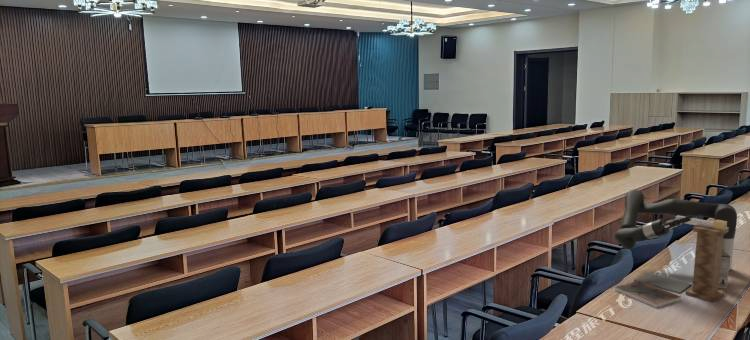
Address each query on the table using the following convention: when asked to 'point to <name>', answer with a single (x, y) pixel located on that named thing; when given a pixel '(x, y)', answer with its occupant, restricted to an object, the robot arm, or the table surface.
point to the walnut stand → (707, 263)
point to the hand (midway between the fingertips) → (690, 217)
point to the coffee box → (724, 270)
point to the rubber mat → (663, 282)
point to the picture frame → (648, 293)
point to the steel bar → (706, 223)
